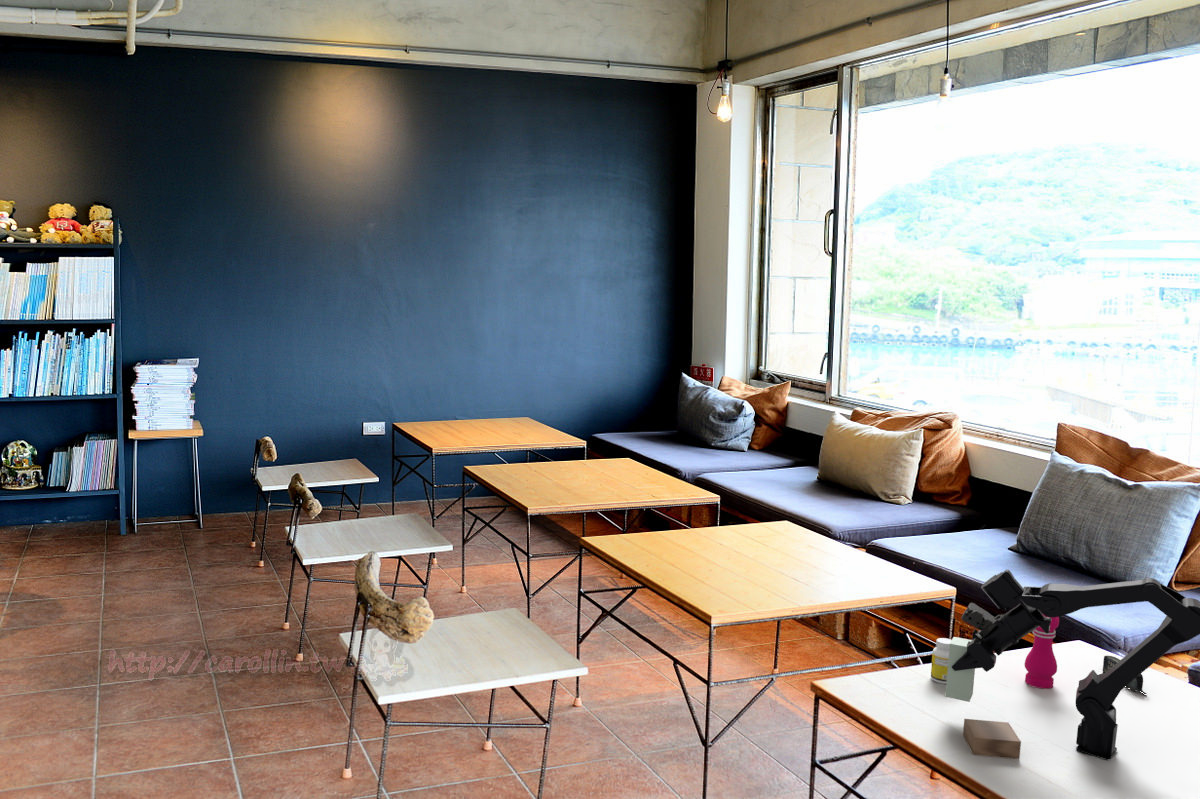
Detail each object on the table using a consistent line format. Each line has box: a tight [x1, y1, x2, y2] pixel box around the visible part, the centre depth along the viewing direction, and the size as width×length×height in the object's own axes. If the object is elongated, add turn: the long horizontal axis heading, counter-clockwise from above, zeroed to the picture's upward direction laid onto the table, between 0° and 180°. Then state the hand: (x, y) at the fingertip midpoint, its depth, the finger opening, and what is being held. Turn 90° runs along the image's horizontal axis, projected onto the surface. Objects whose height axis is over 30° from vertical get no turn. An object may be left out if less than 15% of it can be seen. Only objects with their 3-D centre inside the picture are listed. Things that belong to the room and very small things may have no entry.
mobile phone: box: [1102, 655, 1148, 695], centre depth 252 cm, size 5×3×15 cm
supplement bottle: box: [930, 637, 952, 685], centre depth 249 cm, size 5×5×10 cm
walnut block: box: [962, 718, 1022, 760], centre depth 214 cm, size 9×9×4 cm
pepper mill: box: [1024, 614, 1060, 690], centre depth 248 cm, size 7×7×20 cm
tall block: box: [944, 636, 976, 703], centre depth 226 cm, size 5×5×12 cm
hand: (954, 664), depth 226 cm, fingers closed on tall block, 5 cm apart
